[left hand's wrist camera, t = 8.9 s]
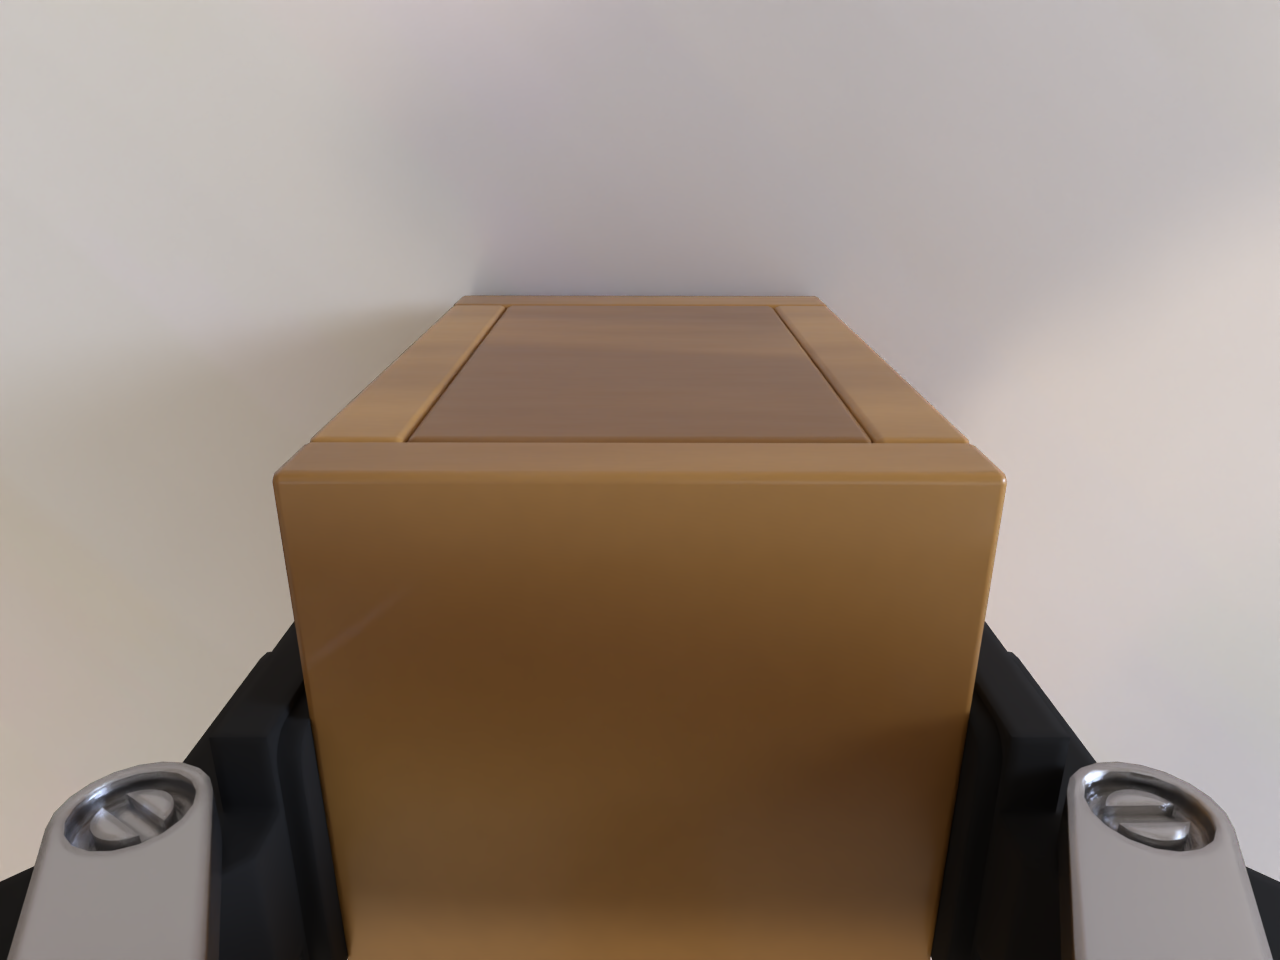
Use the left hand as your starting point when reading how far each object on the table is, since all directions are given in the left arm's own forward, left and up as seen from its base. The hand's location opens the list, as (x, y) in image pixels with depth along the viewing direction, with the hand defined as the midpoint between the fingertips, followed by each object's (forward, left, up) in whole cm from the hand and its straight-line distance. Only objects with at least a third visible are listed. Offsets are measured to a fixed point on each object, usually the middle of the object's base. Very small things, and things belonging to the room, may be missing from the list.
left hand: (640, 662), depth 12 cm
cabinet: (+4, -5, -5) cm, 8 cm away
